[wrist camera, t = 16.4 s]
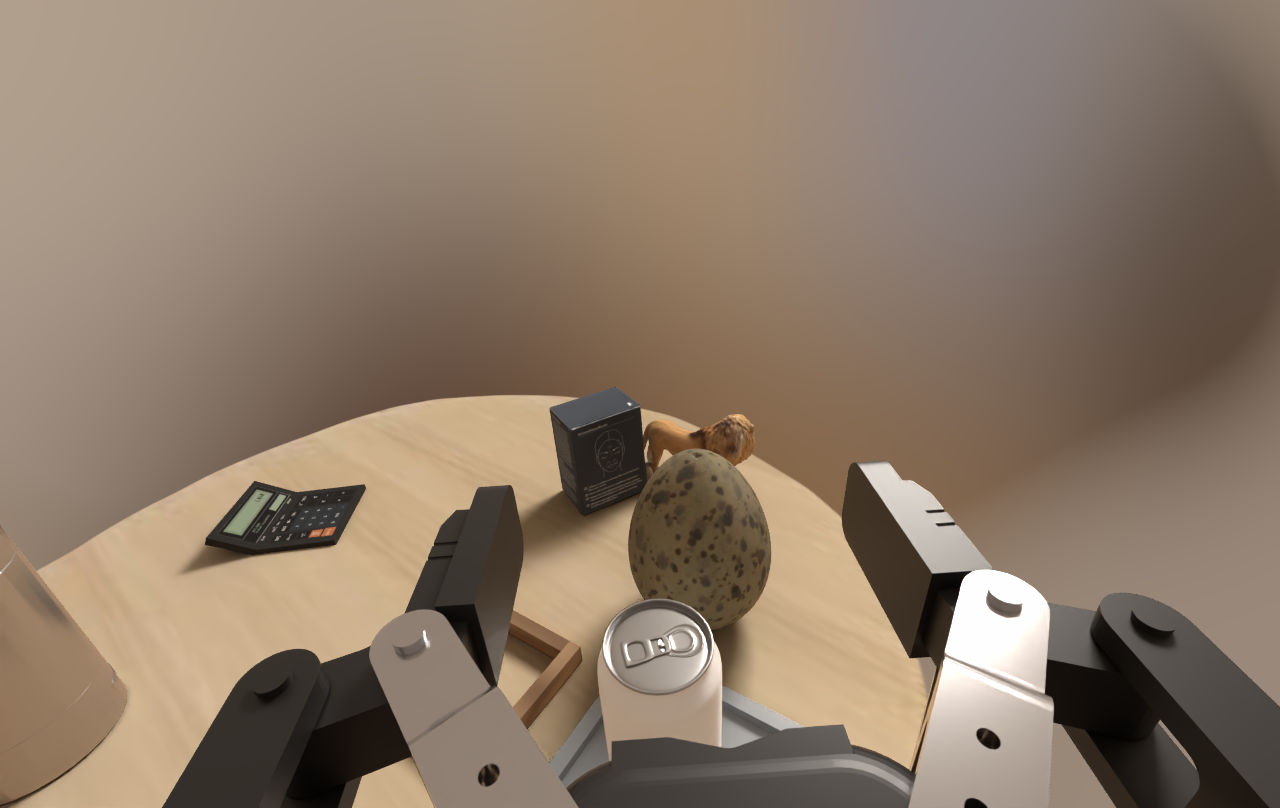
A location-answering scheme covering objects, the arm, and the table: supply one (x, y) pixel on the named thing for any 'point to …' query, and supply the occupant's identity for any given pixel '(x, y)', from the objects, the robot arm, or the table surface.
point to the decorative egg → (700, 538)
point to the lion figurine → (701, 439)
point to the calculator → (285, 519)
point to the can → (660, 675)
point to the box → (599, 448)
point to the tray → (738, 728)
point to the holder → (554, 674)
